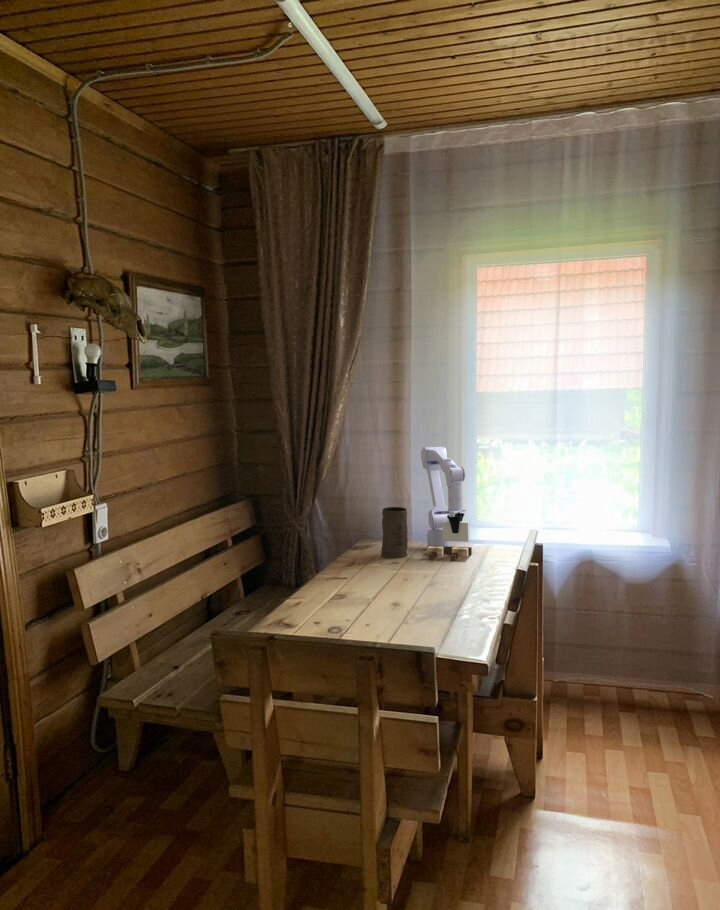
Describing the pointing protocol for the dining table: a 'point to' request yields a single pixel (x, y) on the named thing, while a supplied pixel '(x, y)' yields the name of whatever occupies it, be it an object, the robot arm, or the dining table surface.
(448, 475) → the robot arm
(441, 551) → the offcut left
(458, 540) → the panel
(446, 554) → the rack
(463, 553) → the offcut right
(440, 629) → the dining table surface
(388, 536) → the beer stein
